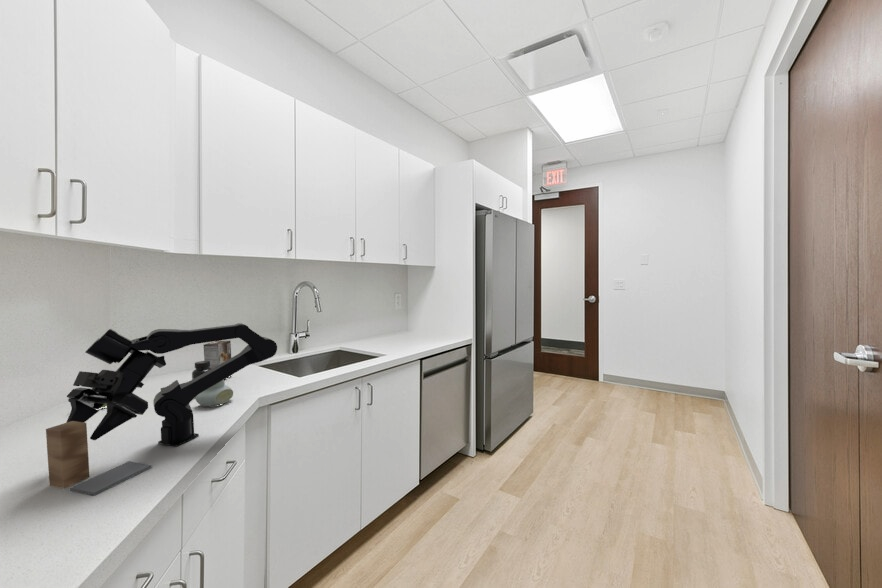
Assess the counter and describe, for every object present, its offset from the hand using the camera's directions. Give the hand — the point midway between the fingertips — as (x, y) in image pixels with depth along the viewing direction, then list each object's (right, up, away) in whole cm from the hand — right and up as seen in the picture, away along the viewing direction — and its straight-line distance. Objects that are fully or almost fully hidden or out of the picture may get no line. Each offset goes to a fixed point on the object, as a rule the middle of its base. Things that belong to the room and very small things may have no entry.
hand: (77, 437), depth 79 cm
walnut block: (0, -9, -2) cm, 9 cm away
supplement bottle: (-10, -6, +57) cm, 58 cm away
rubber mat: (+8, -9, -1) cm, 12 cm away
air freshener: (+2, -7, +46) cm, 46 cm away
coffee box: (-16, -6, +76) cm, 78 cm away
